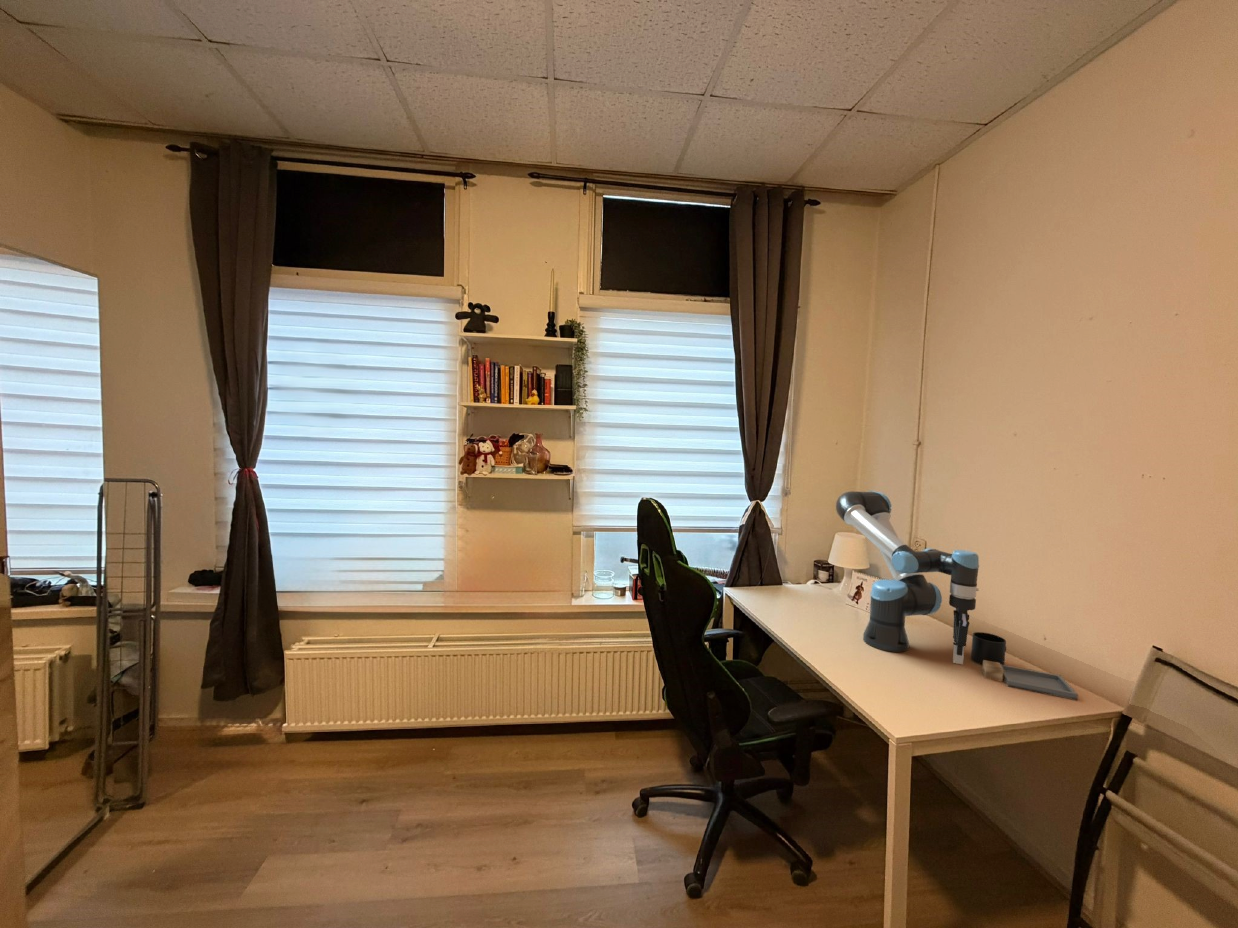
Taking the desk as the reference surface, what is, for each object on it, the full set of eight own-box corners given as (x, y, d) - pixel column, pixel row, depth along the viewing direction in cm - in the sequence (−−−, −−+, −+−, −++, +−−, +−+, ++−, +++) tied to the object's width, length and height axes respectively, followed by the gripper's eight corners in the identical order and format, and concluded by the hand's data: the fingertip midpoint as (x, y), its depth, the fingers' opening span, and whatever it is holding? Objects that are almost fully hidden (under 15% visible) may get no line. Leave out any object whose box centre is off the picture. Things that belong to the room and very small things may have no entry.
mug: (1017, 667, 173) (1019, 641, 172) (987, 668, 171) (989, 642, 170) (992, 655, 182) (994, 631, 182) (964, 656, 180) (966, 632, 180)
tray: (1007, 686, 158) (1008, 680, 158) (996, 668, 171) (996, 663, 171) (1077, 700, 151) (1077, 694, 151) (1059, 680, 164) (1060, 675, 164)
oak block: (985, 678, 164) (986, 664, 163) (982, 672, 168) (983, 659, 167) (1002, 681, 162) (1003, 668, 161) (998, 676, 166) (999, 662, 166)
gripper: (980, 603, 165) (974, 672, 166) (971, 592, 177) (966, 657, 179) (953, 599, 168) (948, 667, 170) (946, 589, 181) (942, 653, 182)
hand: (957, 662), depth 174 cm, fingers closed
